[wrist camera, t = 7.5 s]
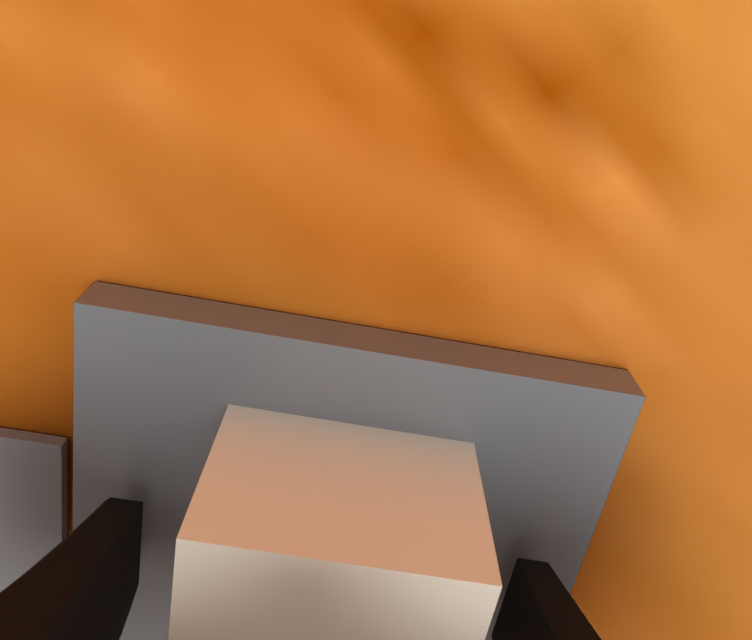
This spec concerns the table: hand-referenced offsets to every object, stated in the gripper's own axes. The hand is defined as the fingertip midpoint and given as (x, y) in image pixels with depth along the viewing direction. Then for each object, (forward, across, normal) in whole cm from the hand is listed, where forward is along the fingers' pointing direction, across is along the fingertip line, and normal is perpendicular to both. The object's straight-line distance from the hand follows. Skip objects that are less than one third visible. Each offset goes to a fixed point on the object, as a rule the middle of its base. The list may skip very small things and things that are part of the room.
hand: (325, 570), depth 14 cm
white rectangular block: (0, 0, 0) cm, 0 cm away
